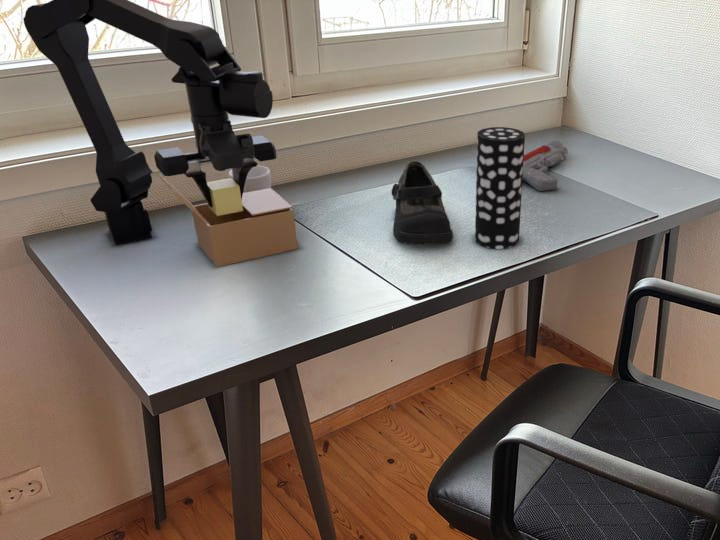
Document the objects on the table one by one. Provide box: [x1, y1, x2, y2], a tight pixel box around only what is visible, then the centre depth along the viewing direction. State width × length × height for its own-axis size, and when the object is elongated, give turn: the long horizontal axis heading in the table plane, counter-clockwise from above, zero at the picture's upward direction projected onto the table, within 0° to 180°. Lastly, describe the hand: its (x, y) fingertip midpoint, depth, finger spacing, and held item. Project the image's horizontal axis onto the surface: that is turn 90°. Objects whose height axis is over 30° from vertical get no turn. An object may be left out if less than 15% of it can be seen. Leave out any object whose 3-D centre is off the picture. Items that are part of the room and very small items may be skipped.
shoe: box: [391, 161, 454, 245], centre depth 140 cm, size 11×24×10 cm, turn 11°
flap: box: [157, 173, 208, 224], centre depth 123 cm, size 7×11×1 cm
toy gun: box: [522, 140, 569, 192], centre depth 171 cm, size 4×27×15 cm
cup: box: [227, 164, 272, 193], centre depth 145 cm, size 11×8×8 cm
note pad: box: [207, 177, 243, 216], centre depth 127 cm, size 5×5×5 cm
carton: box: [191, 187, 299, 268], centre depth 131 cm, size 15×11×8 cm
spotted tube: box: [474, 126, 526, 250], centre depth 133 cm, size 8×8×20 cm
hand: (225, 203), depth 127 cm, fingers closed on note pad, 4 cm apart
